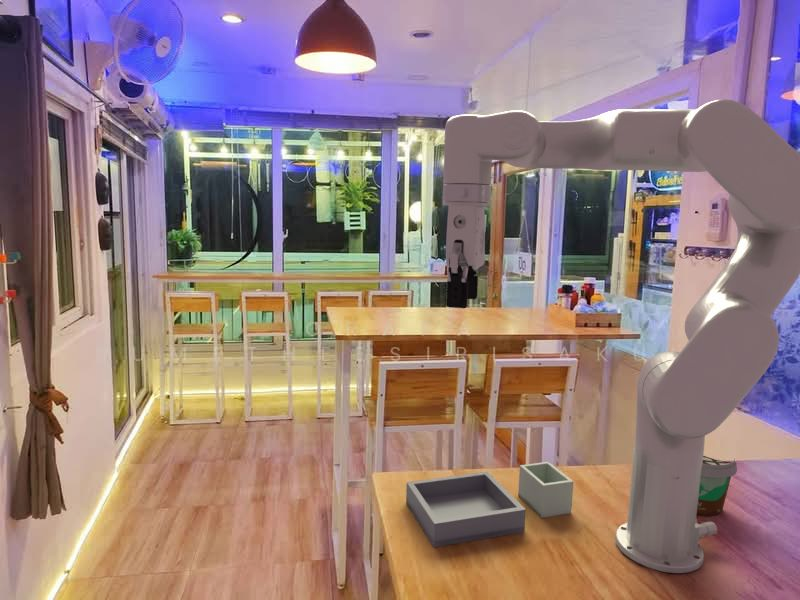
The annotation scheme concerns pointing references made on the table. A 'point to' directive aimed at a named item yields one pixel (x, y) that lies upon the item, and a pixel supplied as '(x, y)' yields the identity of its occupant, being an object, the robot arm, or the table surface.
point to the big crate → (464, 508)
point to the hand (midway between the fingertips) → (462, 302)
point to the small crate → (545, 489)
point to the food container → (714, 486)
